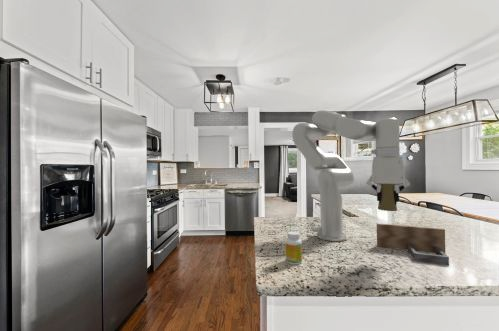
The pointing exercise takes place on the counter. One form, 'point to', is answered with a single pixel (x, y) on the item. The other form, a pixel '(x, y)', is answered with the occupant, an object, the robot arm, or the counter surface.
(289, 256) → the supplement bottle
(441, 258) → the cleat board
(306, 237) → the counter surface
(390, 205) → the olive tall block
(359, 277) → the counter surface
